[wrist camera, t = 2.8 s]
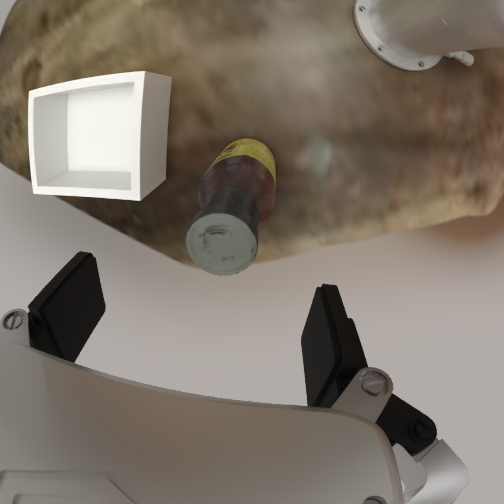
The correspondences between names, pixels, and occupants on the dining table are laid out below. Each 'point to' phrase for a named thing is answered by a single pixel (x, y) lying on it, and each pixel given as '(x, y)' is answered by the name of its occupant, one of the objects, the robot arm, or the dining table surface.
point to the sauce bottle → (233, 208)
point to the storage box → (100, 136)
